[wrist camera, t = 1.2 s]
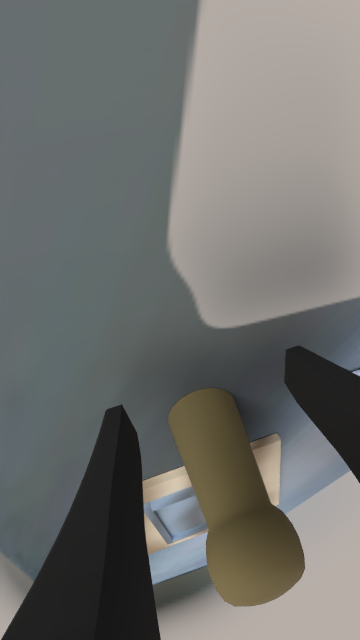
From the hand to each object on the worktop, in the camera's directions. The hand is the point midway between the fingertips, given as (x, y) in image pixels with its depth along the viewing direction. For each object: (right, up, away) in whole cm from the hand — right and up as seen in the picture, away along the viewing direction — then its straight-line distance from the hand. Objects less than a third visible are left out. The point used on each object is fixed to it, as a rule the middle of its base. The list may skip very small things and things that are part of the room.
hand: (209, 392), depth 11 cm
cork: (+1, -5, +11) cm, 12 cm away
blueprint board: (+1, -18, +19) cm, 26 cm away
